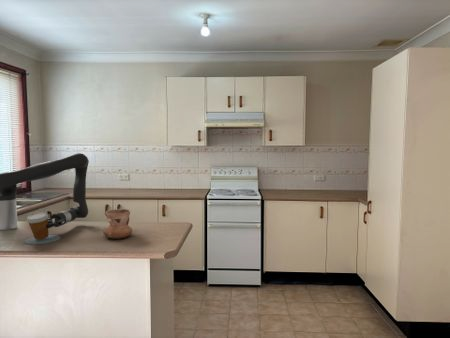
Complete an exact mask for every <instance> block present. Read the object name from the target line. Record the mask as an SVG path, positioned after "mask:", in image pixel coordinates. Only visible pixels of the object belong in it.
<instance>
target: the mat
mask: <svg viewBox="0 0 450 338" xmlns="http://www.w3.org/2000/svg"><path fill="white" fill-rule="evenodd" d="M60 239H61V237H60V236H59V235H57V234H56V235H54V234H49V236H48V237H46V238H44V239H41V240H36V239H35V237H34V236H33V237H30V238H28V239H26V240H24V244H25V245H31V246H32V245H33V246H34V245H35V246H36V244H38V245H44V244H50V243H53V242H57V241H59V240H60Z"/></svg>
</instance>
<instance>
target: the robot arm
mask: <svg viewBox="0 0 450 338" xmlns="http://www.w3.org/2000/svg"><path fill="white" fill-rule="evenodd" d="M89 163H90V161H89V158H88V156H87V155H85V154H84V153H79V152H77V153H75V154H72V155H69V156H66V157H63V158H60V159H54V160H50V161H49V160H48V161H45V162H39V163H36V164H33V165H31V166H28V167H25V168H22V169H19V170H15V171H10V172H9V171H6V172H1V173H0V230H1V231H6V230H7V231H8V230H13V229H16V228H18V227H19V225H18V209H17V193H18V192H17V191H18V188H17V186H18V184H23V183H27V182H33V181H37V180H42V179H43V180H44V179H47V178H50V177H54V176H56V175H58V174H60V173H62V172H64V171H67V170H74V172H75V176H74V177H75V178H74V184H73V187H72V188H73V189H72V193H73V194H72V201H73V202H74V203H78V206H71V207H69V208H68V209H66V210H62V211H58V212H56V213H53V214H51V215H50V216H49V217H48V218H47V219H48V224H47V225H46V228H47V229H48V230H49V229H50V228H58V227H59V228H60V227H61V226H65V225H66V224H68V223H71V222H72V221H75V220H76V219H84V218H86V217H87V216H88V215H89V208H88V204H87V199H86V196H87V195H86V191H87V190H86V189H87V186H86V185H87V183H86V182H87V181H86V179H87V172H88V167H89Z"/></svg>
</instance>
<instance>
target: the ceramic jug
mask: <svg viewBox="0 0 450 338" xmlns="http://www.w3.org/2000/svg"><path fill="white" fill-rule="evenodd" d="M130 214H131V210H130V209H128V208H127V209H126V208H114V209H108V210H106V211H105V216H106V219H107V220H106V223H108V224H109V225H108V226H107V227H106V228H105V229H104V230H103V234H104V236H105V237H106V238H108V239H112V240H120V239H126V238H128V237H129V236H130V235H132V234H133V228H132V227H131V226H129V223H130Z"/></svg>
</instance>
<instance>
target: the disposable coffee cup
mask: <svg viewBox="0 0 450 338" xmlns="http://www.w3.org/2000/svg"><path fill="white" fill-rule="evenodd" d="M47 218H49V215H48V213H47V212H44V211H41V212H35V213H32V214H30V215H29V216H27V218H26V222H27V223H28V225H29V227H30V229H31V232H32V234H33V237H35V239H36V240H41V239H44V238H46V237H48V236H49V235H50V234H49V228H48V229H47V228H46V225H47V224H48V219H47Z"/></svg>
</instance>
